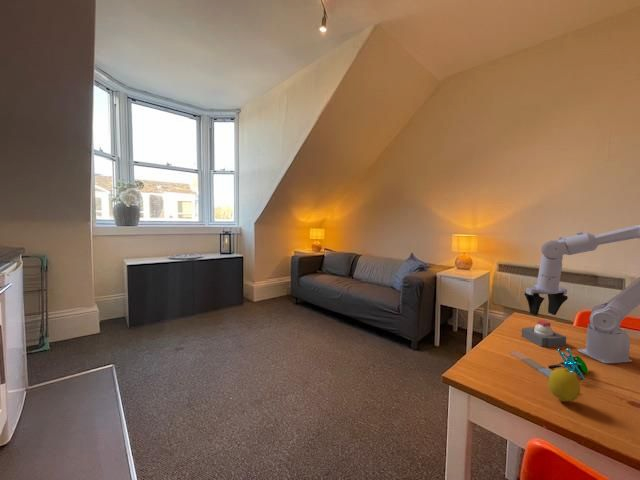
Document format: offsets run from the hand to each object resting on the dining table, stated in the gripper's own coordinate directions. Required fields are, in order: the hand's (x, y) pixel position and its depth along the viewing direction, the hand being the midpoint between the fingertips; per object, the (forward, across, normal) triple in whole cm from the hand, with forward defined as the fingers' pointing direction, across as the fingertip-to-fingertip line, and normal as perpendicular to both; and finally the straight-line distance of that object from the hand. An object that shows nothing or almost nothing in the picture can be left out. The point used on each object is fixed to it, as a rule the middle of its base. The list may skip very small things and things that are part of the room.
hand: (542, 314), depth 96 cm
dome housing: (+10, -1, +1) cm, 10 cm away
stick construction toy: (+9, +10, +18) cm, 23 cm away
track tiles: (+9, +17, +13) cm, 23 cm away
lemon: (+9, +25, +28) cm, 38 cm away
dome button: (+8, -1, +1) cm, 8 cm away
